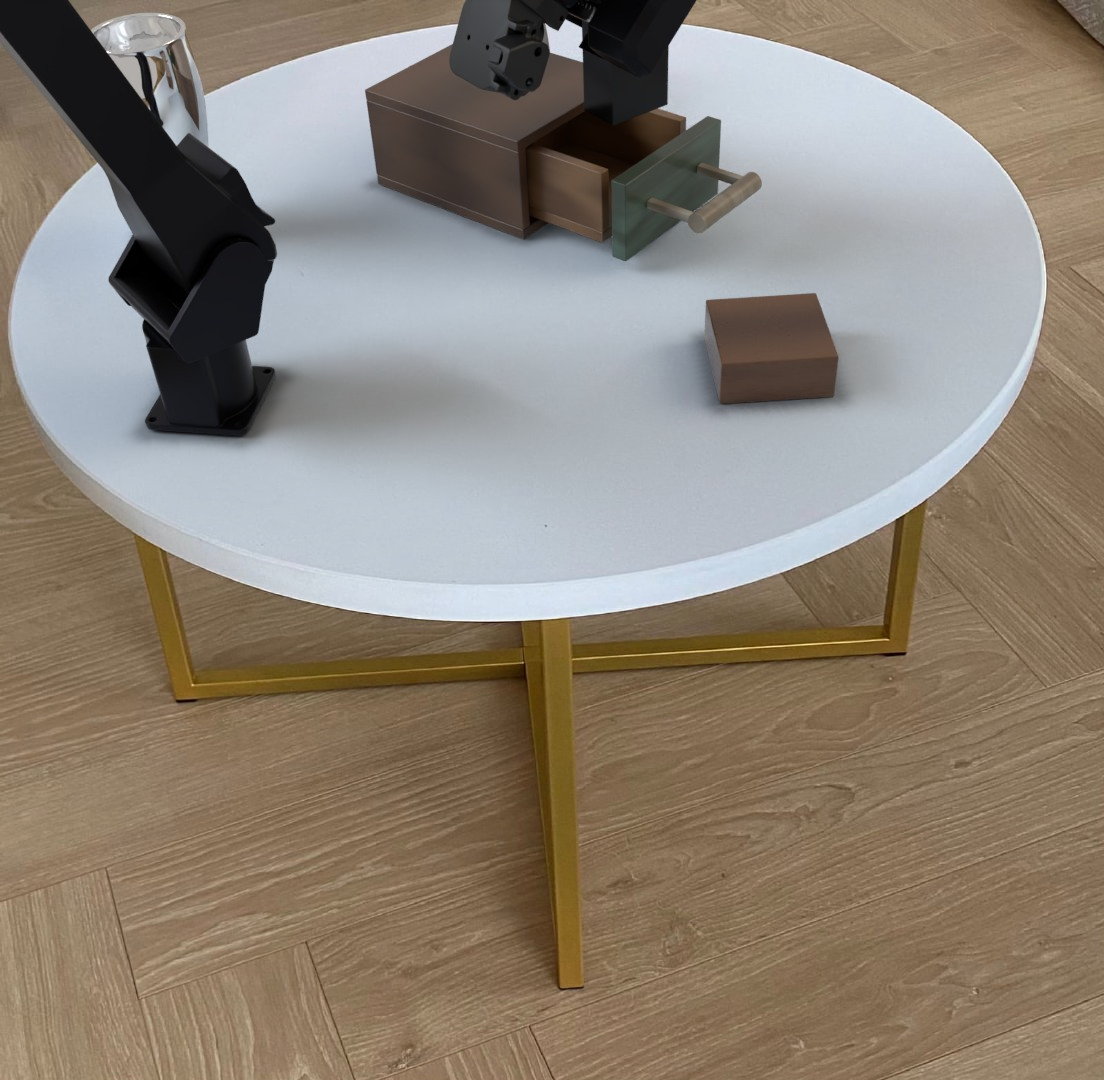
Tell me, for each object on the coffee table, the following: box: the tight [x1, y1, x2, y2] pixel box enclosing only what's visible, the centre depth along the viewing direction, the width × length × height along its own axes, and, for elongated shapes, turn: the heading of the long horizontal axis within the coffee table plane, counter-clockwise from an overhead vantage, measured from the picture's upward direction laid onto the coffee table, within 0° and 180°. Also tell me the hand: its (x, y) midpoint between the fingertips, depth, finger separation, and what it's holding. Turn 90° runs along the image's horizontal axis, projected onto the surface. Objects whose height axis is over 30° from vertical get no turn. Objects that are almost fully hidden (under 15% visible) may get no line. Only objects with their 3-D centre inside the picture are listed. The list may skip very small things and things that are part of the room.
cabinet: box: [364, 43, 585, 240], centre depth 102 cm, size 15×13×8 cm
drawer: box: [525, 108, 763, 262], centre depth 96 cm, size 18×11×6 cm, turn 51°
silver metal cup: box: [90, 12, 210, 148], centre depth 95 cm, size 7×7×15 cm
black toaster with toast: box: [581, 20, 670, 126], centre depth 90 cm, size 3×5×8 cm
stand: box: [703, 292, 839, 405], centre depth 84 cm, size 7×7×3 cm
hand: (641, 47), depth 91 cm, fingers closed on black toaster with toast, 3 cm apart
